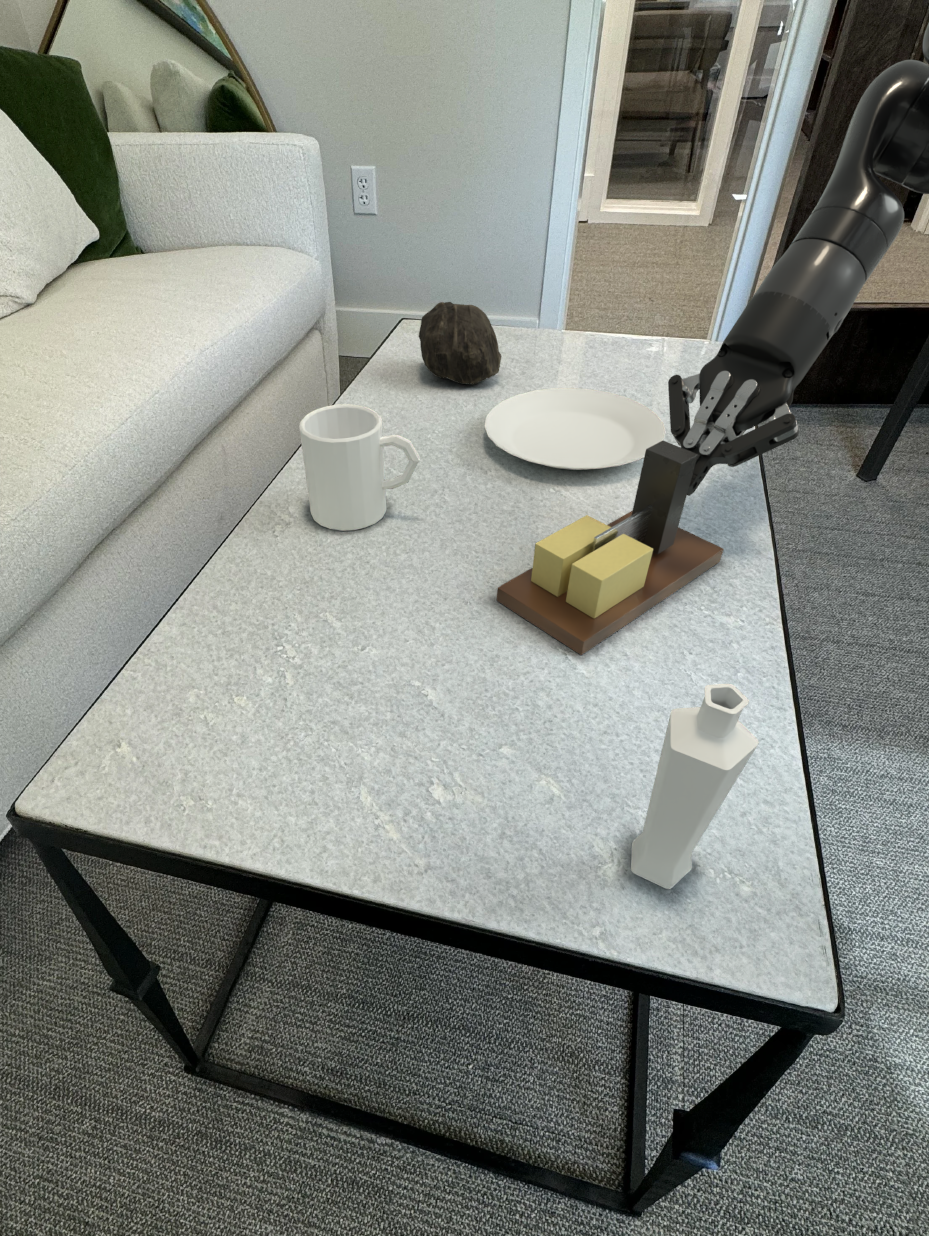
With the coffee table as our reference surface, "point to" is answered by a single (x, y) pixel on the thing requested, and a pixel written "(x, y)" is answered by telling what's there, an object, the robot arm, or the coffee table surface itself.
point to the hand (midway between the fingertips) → (672, 493)
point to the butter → (590, 566)
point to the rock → (459, 343)
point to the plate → (574, 428)
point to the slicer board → (586, 632)
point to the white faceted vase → (692, 782)
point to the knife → (656, 498)
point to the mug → (349, 465)
